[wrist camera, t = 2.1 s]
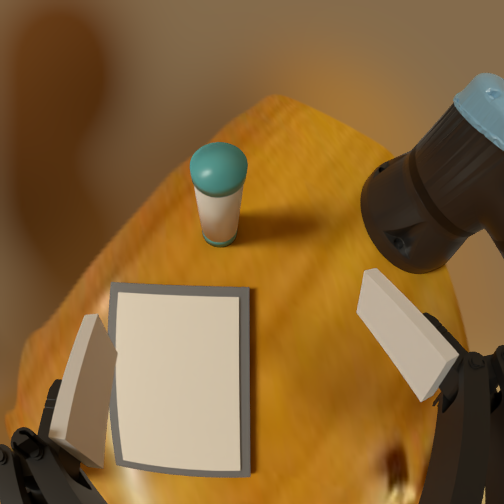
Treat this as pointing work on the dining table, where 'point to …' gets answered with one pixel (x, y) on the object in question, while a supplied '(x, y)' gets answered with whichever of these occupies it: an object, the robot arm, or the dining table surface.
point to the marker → (219, 190)
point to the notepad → (181, 379)
